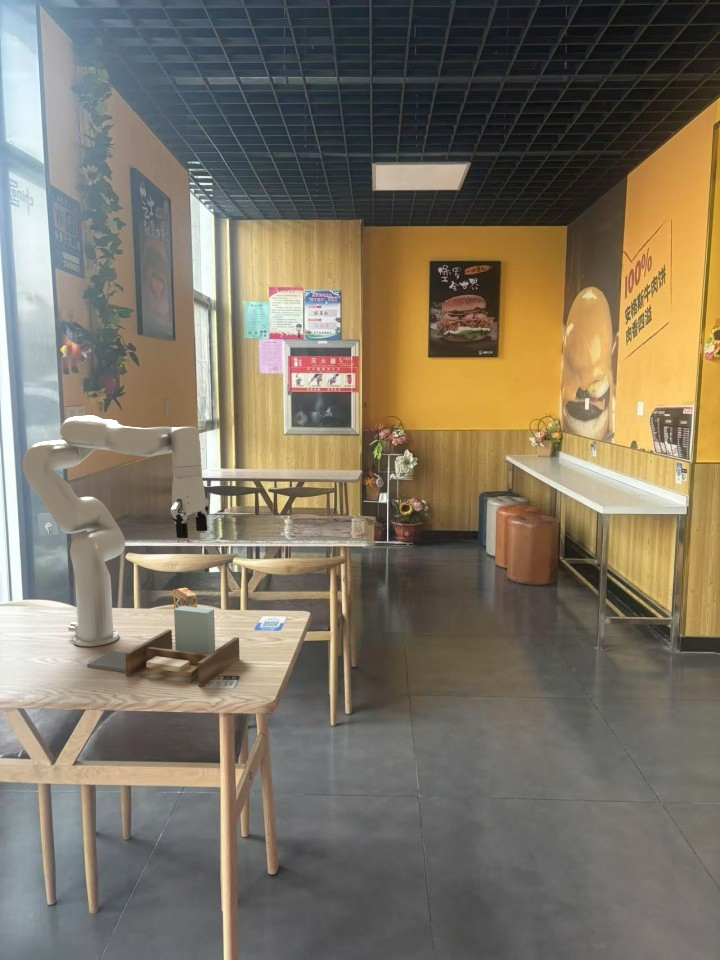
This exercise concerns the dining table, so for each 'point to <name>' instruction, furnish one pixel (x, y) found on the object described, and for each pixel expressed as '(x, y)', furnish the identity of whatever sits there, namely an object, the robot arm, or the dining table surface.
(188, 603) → the candy box
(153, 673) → the offcut stack
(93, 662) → the rubber mat
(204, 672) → the rack
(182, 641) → the pale mint block
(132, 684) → the dining table surface
